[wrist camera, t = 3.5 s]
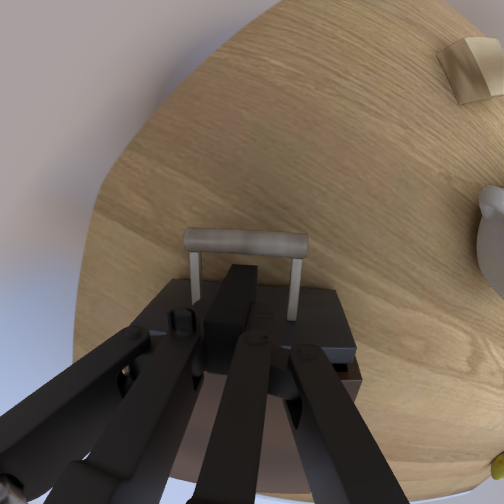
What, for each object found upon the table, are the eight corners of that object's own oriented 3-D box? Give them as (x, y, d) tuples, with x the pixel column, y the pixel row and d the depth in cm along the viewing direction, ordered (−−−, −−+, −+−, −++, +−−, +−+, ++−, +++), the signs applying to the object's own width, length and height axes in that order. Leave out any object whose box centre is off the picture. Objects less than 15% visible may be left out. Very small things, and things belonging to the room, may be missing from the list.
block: (435, 54, 15) (463, 36, 10) (469, 52, 14) (497, 38, 9) (458, 105, 16) (491, 96, 11) (490, 98, 15) (521, 92, 10)
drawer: (168, 212, 21) (114, 237, 14) (344, 221, 20) (377, 253, 12) (189, 408, 28) (169, 460, 20) (307, 420, 26) (308, 476, 19)
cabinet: (171, 291, 24) (118, 354, 15) (337, 303, 23) (363, 379, 14) (189, 416, 29) (166, 476, 20) (308, 428, 28) (309, 493, 19)
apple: (511, 446, 29) (521, 471, 20) (508, 446, 32) (518, 469, 24) (487, 464, 31) (497, 490, 22) (486, 463, 34) (495, 486, 26)
